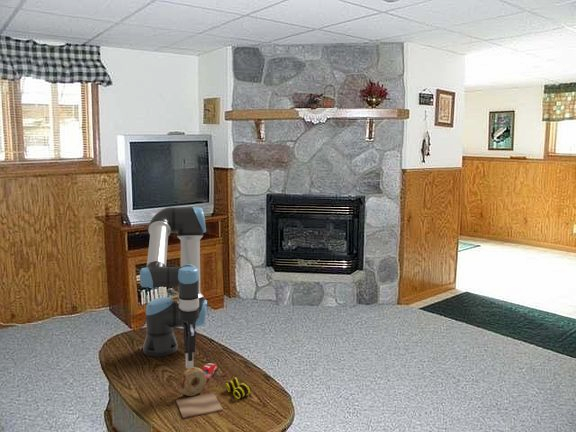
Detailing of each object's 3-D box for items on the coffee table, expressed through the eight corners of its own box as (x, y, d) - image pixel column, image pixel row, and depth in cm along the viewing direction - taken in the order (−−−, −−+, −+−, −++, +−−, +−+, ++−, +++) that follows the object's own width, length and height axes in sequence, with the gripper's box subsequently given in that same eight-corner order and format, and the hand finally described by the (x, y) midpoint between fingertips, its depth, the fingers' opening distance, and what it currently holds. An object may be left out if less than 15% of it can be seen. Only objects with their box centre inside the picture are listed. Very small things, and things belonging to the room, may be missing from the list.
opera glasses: (225, 392, 187) (223, 381, 186) (237, 385, 190) (235, 374, 189) (239, 403, 180) (237, 391, 178) (251, 396, 183) (248, 384, 181)
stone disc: (182, 400, 179) (182, 374, 178) (178, 396, 182) (177, 370, 180) (208, 391, 185) (207, 367, 184) (203, 388, 188) (203, 363, 187)
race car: (205, 385, 191) (205, 376, 190) (192, 383, 192) (192, 374, 191) (219, 370, 203) (219, 361, 203) (207, 368, 205) (207, 359, 204)
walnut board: (176, 401, 178) (176, 400, 178) (213, 394, 184) (213, 392, 184) (182, 418, 167) (182, 417, 167) (222, 410, 173) (222, 408, 173)
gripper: (175, 304, 188) (176, 362, 192) (182, 315, 177) (183, 376, 180) (194, 301, 191) (195, 358, 195) (202, 312, 180) (203, 373, 183)
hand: (189, 367), depth 187 cm, fingers closed
